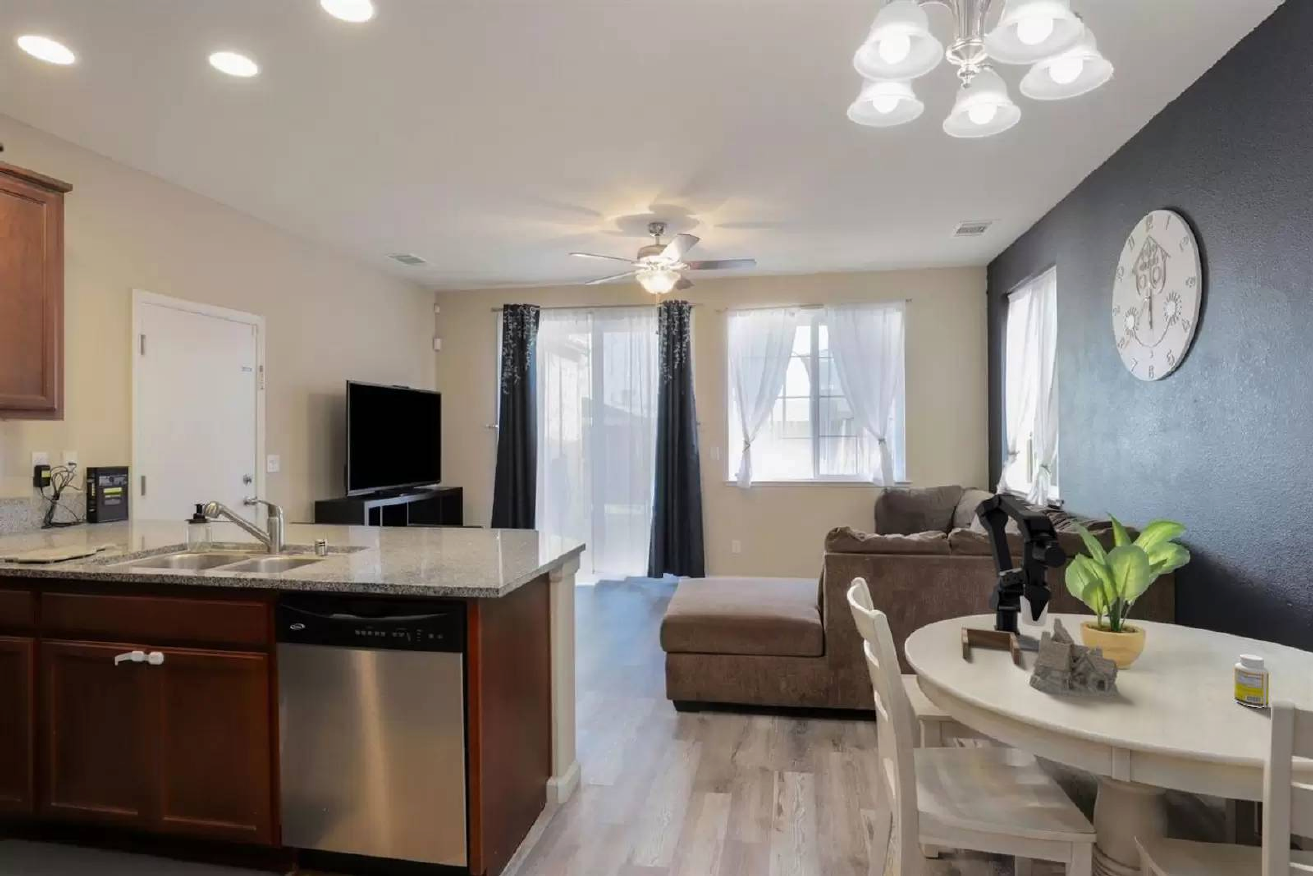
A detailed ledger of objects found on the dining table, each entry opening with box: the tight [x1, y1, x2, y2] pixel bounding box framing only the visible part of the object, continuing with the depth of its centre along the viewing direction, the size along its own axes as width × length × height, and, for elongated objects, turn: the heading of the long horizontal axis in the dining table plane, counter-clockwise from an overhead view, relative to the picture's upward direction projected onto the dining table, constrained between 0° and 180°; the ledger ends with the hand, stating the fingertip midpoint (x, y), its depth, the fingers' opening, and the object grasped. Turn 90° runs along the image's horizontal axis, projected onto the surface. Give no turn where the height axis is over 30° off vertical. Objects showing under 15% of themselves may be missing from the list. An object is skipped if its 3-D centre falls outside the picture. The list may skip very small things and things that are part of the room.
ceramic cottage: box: [1029, 617, 1119, 699], centre depth 158 cm, size 16×16×15 cm
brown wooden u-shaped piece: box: [961, 626, 1021, 665], centre depth 183 cm, size 16×13×4 cm
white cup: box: [1020, 595, 1049, 627], centre depth 189 cm, size 7×7×7 cm
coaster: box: [1016, 637, 1040, 653], centre depth 189 cm, size 9×9×1 cm
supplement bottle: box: [1234, 653, 1270, 707], centre depth 149 cm, size 6×6×10 cm
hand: (1033, 618), depth 189 cm, fingers closed on white cup, 6 cm apart
